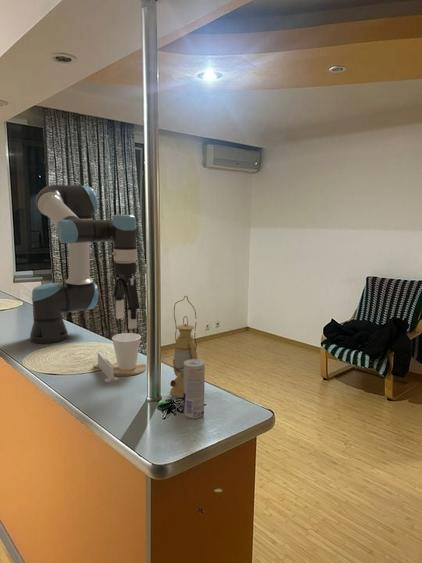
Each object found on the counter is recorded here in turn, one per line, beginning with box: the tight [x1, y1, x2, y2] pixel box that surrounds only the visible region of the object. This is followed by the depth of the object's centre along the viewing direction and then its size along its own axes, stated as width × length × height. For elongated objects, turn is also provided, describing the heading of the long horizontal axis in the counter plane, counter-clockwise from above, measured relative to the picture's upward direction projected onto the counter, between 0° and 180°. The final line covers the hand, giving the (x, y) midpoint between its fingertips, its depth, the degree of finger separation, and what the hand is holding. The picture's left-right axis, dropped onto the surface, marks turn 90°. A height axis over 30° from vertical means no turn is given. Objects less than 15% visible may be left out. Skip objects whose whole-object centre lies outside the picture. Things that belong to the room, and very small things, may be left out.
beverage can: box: [183, 358, 206, 419], centre depth 110 cm, size 6×6×15 cm
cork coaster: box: [111, 361, 147, 377], centre depth 142 cm, size 13×13×1 cm
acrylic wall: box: [93, 351, 119, 383], centre depth 138 cm, size 16×4×5 cm, turn 30°
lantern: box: [169, 295, 199, 398], centre depth 122 cm, size 12×10×30 cm
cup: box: [111, 332, 142, 370], centre depth 142 cm, size 10×10×11 cm
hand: (126, 323), depth 140 cm, fingers open, 13 cm apart
